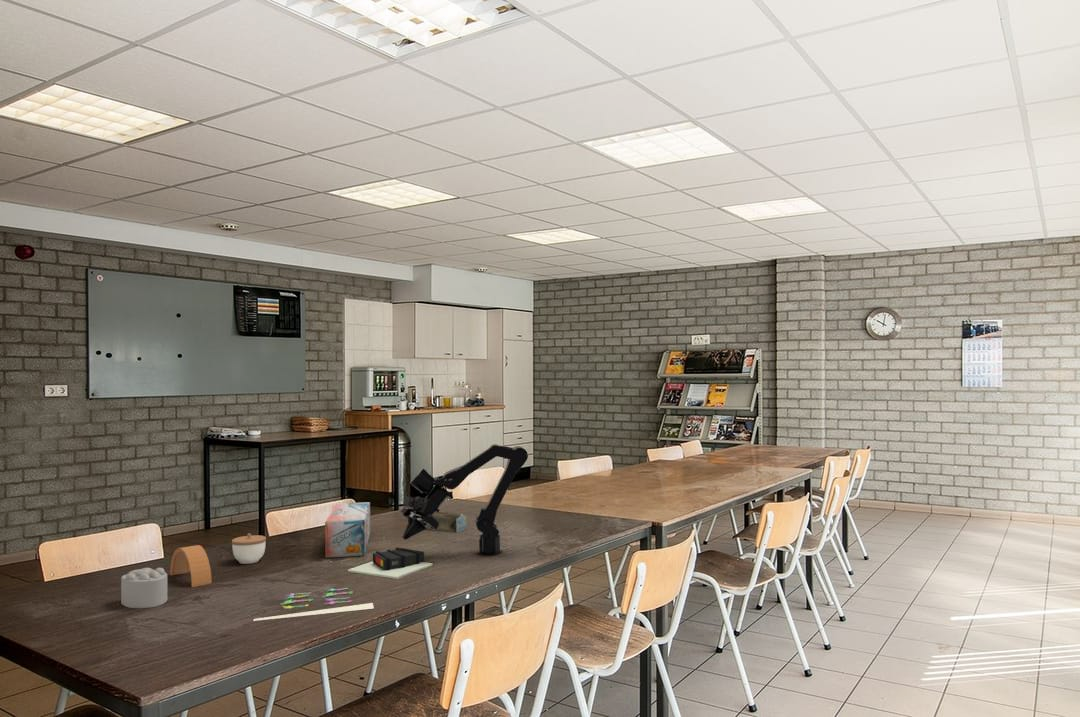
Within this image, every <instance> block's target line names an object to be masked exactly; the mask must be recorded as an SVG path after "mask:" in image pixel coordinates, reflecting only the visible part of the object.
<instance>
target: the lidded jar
mask: <svg viewBox="0 0 1080 717" xmlns="http://www.w3.org/2000/svg"><path fill="white" fill-rule="evenodd" d="M266 541H267V537H266V536H265V535H258V534H257V535H253V534H252V533H247V535H245V536H238V537H235V538H233V539H232V540H231V544H232V549H231V550H232V554H233V556H234V558H235V560H236V561H238V562H239V564H242V565H243V564H244V565H249V564H255V563H258V562H259V561H260V559H262V557H263V556H264V554H265V552H266V544H267V543H266Z"/></svg>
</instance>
